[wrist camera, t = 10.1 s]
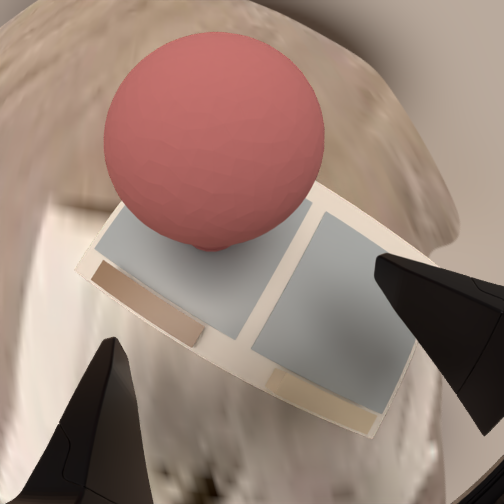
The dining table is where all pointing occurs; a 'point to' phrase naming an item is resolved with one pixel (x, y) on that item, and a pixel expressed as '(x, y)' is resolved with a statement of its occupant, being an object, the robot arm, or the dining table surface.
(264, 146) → the light bulb
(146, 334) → the dining table surface
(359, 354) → the board
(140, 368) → the dining table surface
